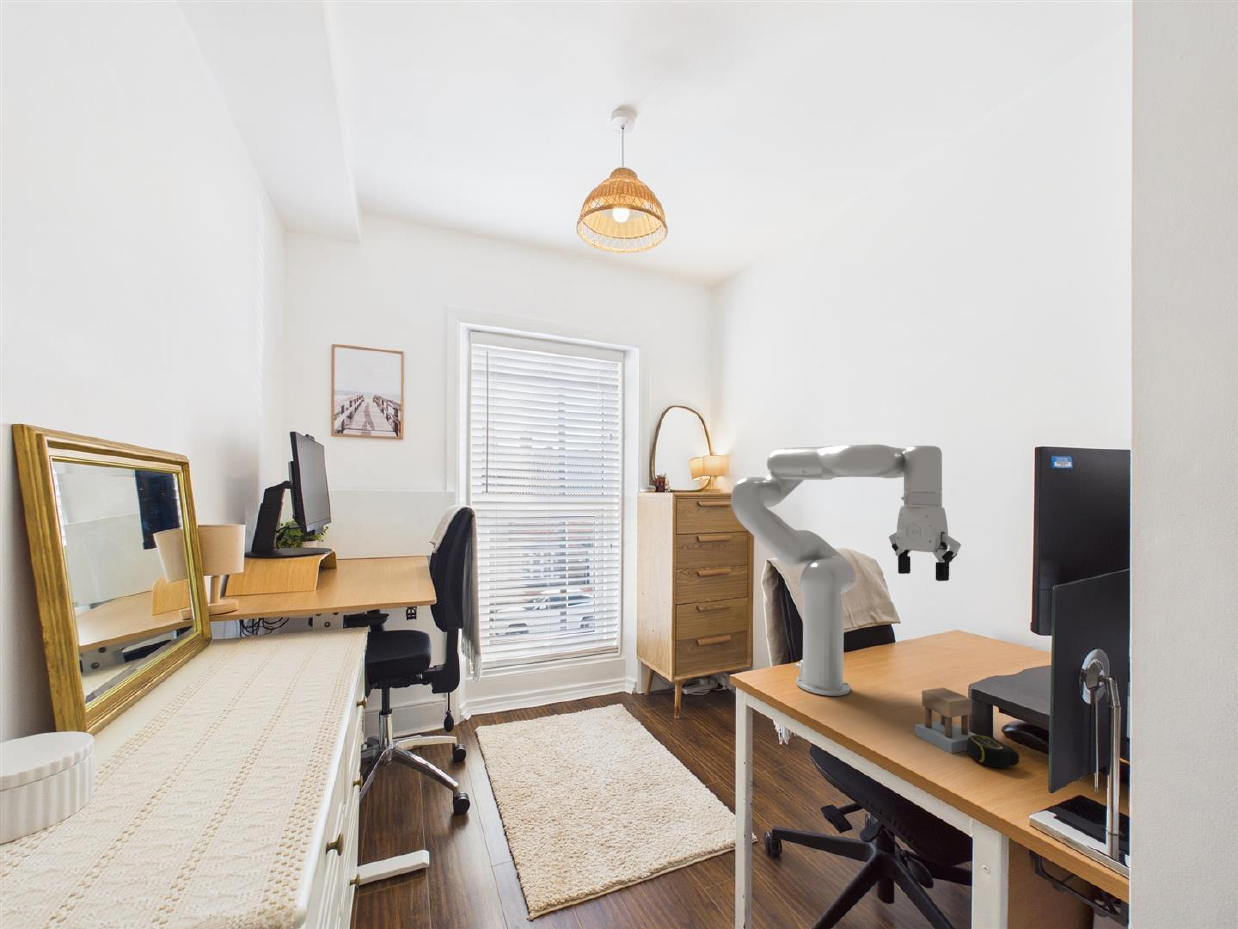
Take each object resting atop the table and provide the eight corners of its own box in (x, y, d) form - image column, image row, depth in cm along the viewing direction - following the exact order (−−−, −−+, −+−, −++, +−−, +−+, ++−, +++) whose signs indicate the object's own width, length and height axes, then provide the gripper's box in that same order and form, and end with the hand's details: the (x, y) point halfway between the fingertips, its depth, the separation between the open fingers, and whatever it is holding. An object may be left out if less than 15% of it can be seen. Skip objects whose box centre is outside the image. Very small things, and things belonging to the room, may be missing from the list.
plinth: (914, 734, 109) (914, 724, 109) (943, 729, 111) (943, 719, 111) (951, 753, 101) (951, 742, 101) (981, 747, 104) (981, 736, 104)
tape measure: (1022, 771, 95) (1021, 750, 96) (987, 773, 95) (987, 751, 95) (990, 752, 102) (990, 732, 102) (957, 753, 101) (958, 733, 102)
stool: (921, 726, 108) (922, 690, 108) (943, 722, 110) (943, 687, 111) (949, 739, 103) (949, 702, 103) (971, 735, 105) (971, 698, 105)
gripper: (879, 499, 128) (878, 571, 127) (945, 501, 111) (945, 584, 111) (902, 499, 130) (902, 570, 129) (971, 502, 114) (971, 583, 113)
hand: (922, 577), depth 120 cm, fingers open, 9 cm apart
